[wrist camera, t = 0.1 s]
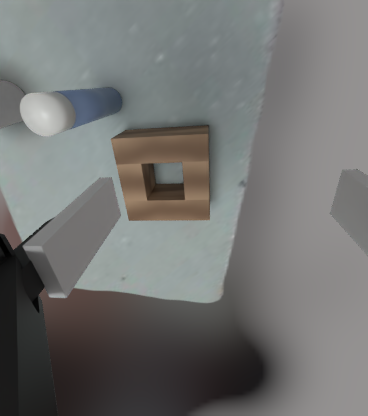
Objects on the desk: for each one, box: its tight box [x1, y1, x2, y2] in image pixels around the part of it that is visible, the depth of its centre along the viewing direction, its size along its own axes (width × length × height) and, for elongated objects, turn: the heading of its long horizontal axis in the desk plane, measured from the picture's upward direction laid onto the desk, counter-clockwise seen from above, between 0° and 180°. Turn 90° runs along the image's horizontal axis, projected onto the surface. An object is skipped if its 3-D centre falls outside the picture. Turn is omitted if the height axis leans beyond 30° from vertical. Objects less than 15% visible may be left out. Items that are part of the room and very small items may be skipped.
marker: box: [20, 88, 122, 137], centre depth 30 cm, size 4×4×18 cm
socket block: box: [111, 125, 210, 221], centre depth 39 cm, size 14×14×7 cm
